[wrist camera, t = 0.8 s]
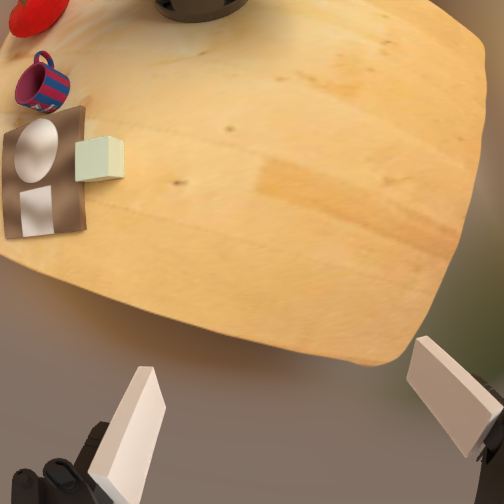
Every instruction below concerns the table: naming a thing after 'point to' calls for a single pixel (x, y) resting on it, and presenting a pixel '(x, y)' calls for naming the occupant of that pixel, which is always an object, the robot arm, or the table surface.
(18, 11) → the tomato
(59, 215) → the board
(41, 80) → the mug
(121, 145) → the pale sage green cube
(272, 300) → the table surface
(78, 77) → the table surface
